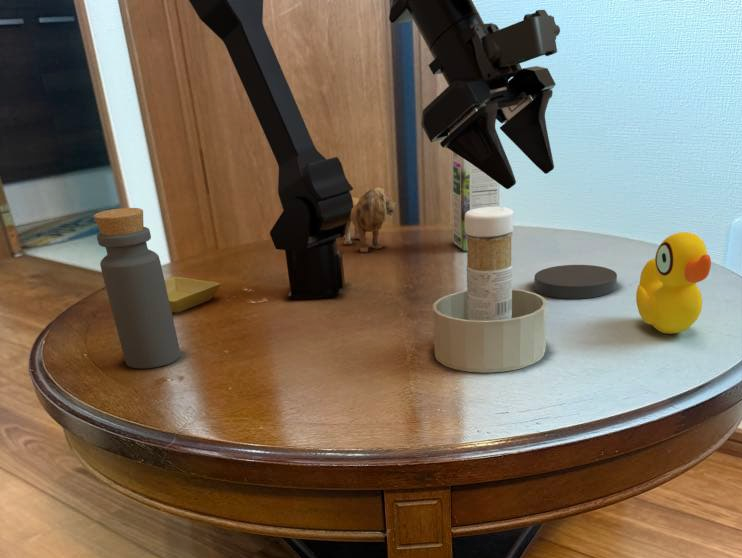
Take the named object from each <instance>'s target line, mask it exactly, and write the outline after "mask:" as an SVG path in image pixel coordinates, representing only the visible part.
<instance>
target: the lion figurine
mask: <svg viewBox="0 0 742 558" xmlns="http://www.w3.org/2000/svg"><path fill="white" fill-rule="evenodd" d="M352 200H353V208H352V210H351V215H350V218H349V219H348V221H347V225H346V230H345V235H344V242H343V243H344V245H346V246H347V245H351V244H352V240H351V225H353V226H354V238H355V239H356V240H359V245H360V246H359V247H360V249H359V251H360V252H361V253H367V252H369V248H368V244H367V240H366V233H367V232H368V233H371V235H372V238H371V246H372V248H373V249H375V250H379V249H381V248H382V247H383V245H382V244H381V243H379V233H380V230H381V229H382V225H383V224H384V223H385V222H386V221H387V218H388V215H389V216H391V217H392V216H393V215H394V211H395V209H396V205H397V202H396V201H394V200H393V199H390V197H389V196H387V195H386V194H385V189H384V188H382V187H373V188H372V189H369V190H368V191H366V192H365V193H364V194H363V195H362V196H360V197H359V198H358V197H353V196H352Z"/></svg>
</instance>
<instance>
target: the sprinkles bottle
mask: <svg viewBox="0 0 742 558" xmlns="http://www.w3.org/2000/svg"><path fill="white" fill-rule="evenodd" d="M513 231H514V211H513V209H511V208H509V207H504V206H500V207H482V208H476V209H472V210H469V211H467V212H466V213H465V233H466V234H467V236H466V238H467V251H466V252H467V254H466V258H467V259H466V290H467V308H468V320H479V321H488V320H504V319H510V318H511V317H512V289H513V264H512V260H513V259H512V237H513Z"/></svg>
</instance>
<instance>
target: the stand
mask: <svg viewBox="0 0 742 558" xmlns="http://www.w3.org/2000/svg"><path fill="white" fill-rule="evenodd" d="M533 279H534V283H533V284H534V285H533V288H534V291H535V292H536V293H537V294H539V295H541V296H542V295H543V296H546V297H549V298H555V299H564V300H565V299H567V300H568V299H569V300H574V299H575V300H579V299H580V300H581V299H593V298H598V297H603V296H606V295H609V294H611V293H613V292H614V291H615V290H616V288H617V281H618V274H617V272H616V271H615V270H613V269H611V268H608V267H605V266H600V265H593V264H563V265H556V266H551V267H547V268H543V269H541V270H539V271H537V272H536V273H535V274H534V278H533Z"/></svg>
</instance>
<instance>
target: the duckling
mask: <svg viewBox="0 0 742 558" xmlns="http://www.w3.org/2000/svg"><path fill="white" fill-rule="evenodd" d="M707 251H708V250H707V247H706V244H705V242H704V241H703V239H702V238H701V237H700V236H699V235H697V234H696V233H692V232H688V231H679V232H676V233H673V234H670V235H669V236H667V237H666V238H664V239H663V240H662V241H661V243H660V244H659V246H658V247H657V250H656V252H655V257H654V258H652V259H650V260H648V261H647V262H646V263H645V265H644V266H643V268H642V270H641V272H640V277H639V284H638V285H637V288H636V293H635V294H636V295H635V301H636V307H637V311H638V313H639V315H640V317H641V319H642V321H643V322H644V323H645V324H648V325H651V326H652V327H654V329H656V330H657V331H659V332H660V333H663V334H671V335H672V334H679V333H682V332H685V331H687V330H688V329H689V328H691V326H692V325H694V323H695V322H696V321H698V319H699V317H700V316H701V312H702V308H703V297H702V293H701V290H700V289H699V287H698V285H697V283H700V282H702V281H705V280H706V278H708V276H709V274H710V272H711V266H712V258H711V256H710V254H708V252H707Z"/></svg>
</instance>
